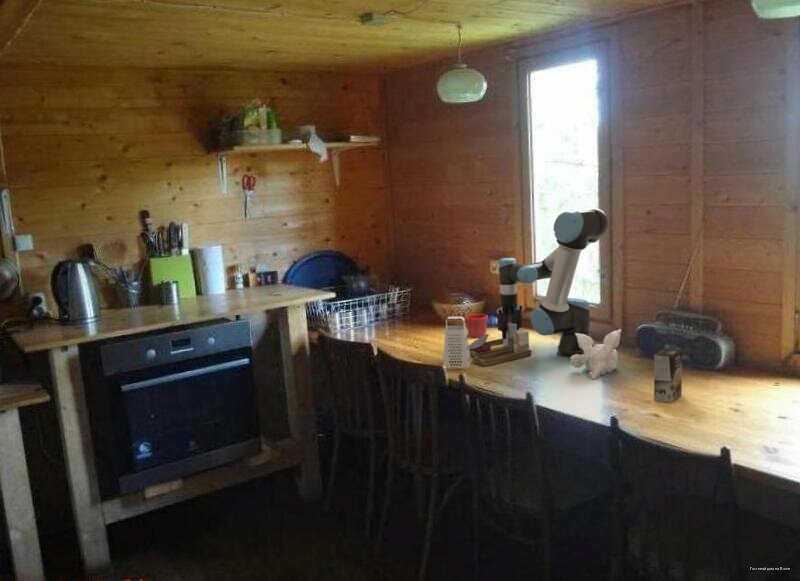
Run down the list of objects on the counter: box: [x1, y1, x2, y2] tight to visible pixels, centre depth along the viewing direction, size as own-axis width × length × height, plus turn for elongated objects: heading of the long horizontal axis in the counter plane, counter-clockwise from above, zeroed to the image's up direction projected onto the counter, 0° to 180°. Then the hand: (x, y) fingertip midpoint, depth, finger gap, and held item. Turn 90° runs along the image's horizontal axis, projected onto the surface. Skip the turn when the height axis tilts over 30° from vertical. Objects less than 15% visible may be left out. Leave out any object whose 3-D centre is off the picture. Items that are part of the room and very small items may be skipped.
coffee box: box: [653, 348, 683, 404], centre depth 243 cm, size 9×6×16 cm
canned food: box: [469, 333, 492, 353], centre depth 314 cm, size 11×10×10 cm
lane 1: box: [470, 322, 517, 358], centre depth 317 cm, size 14×24×10 cm, turn 120°
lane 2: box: [472, 329, 532, 367], centre depth 303 cm, size 8×24×10 cm, turn 120°
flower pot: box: [464, 313, 489, 339], centre depth 345 cm, size 11×11×10 cm
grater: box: [442, 316, 472, 369], centre depth 298 cm, size 10×10×20 cm
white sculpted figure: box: [569, 328, 622, 380], centre depth 278 cm, size 19×20×20 cm
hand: (510, 344), depth 323 cm, fingers closed on lane 1, 4 cm apart
